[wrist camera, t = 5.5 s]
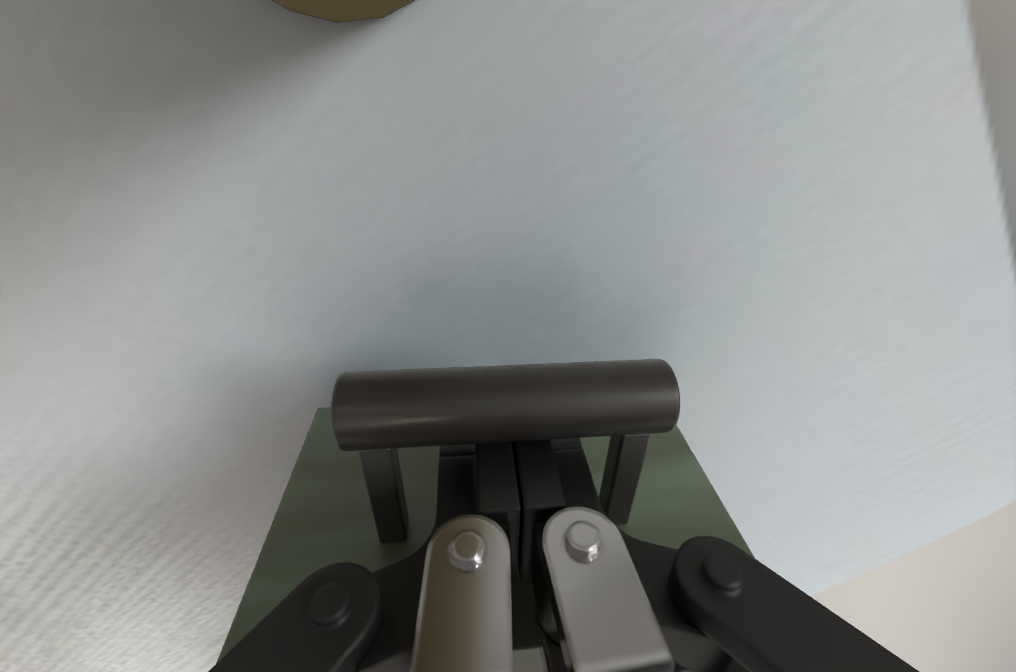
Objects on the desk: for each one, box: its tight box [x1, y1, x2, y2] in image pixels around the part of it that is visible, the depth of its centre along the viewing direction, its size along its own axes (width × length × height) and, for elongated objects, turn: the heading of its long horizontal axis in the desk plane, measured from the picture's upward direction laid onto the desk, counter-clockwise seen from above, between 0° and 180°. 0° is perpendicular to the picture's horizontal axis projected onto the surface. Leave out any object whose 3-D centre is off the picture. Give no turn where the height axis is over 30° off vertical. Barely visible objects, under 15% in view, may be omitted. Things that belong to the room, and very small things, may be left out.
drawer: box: [216, 359, 754, 672], centre depth 13 cm, size 17×11×7 cm, turn 179°
